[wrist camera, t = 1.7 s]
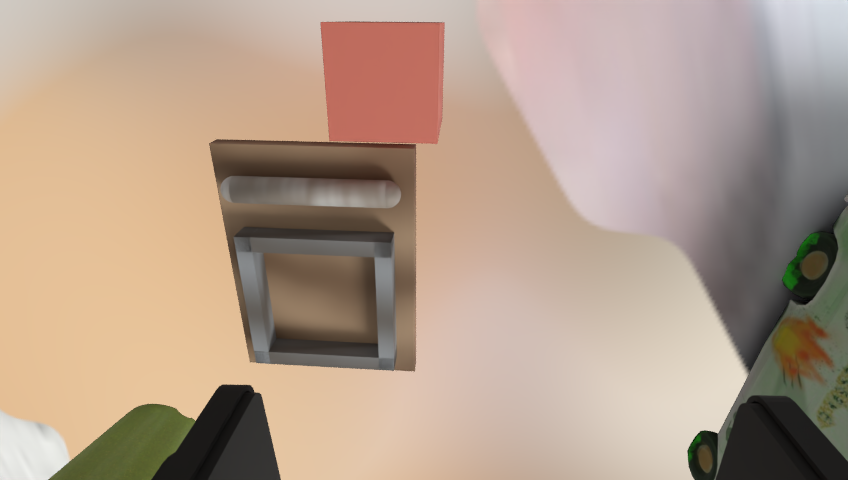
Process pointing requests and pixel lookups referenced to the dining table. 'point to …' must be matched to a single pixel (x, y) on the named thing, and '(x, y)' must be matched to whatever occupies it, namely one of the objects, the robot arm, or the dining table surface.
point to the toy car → (800, 350)
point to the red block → (384, 80)
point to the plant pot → (131, 446)
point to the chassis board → (322, 250)
